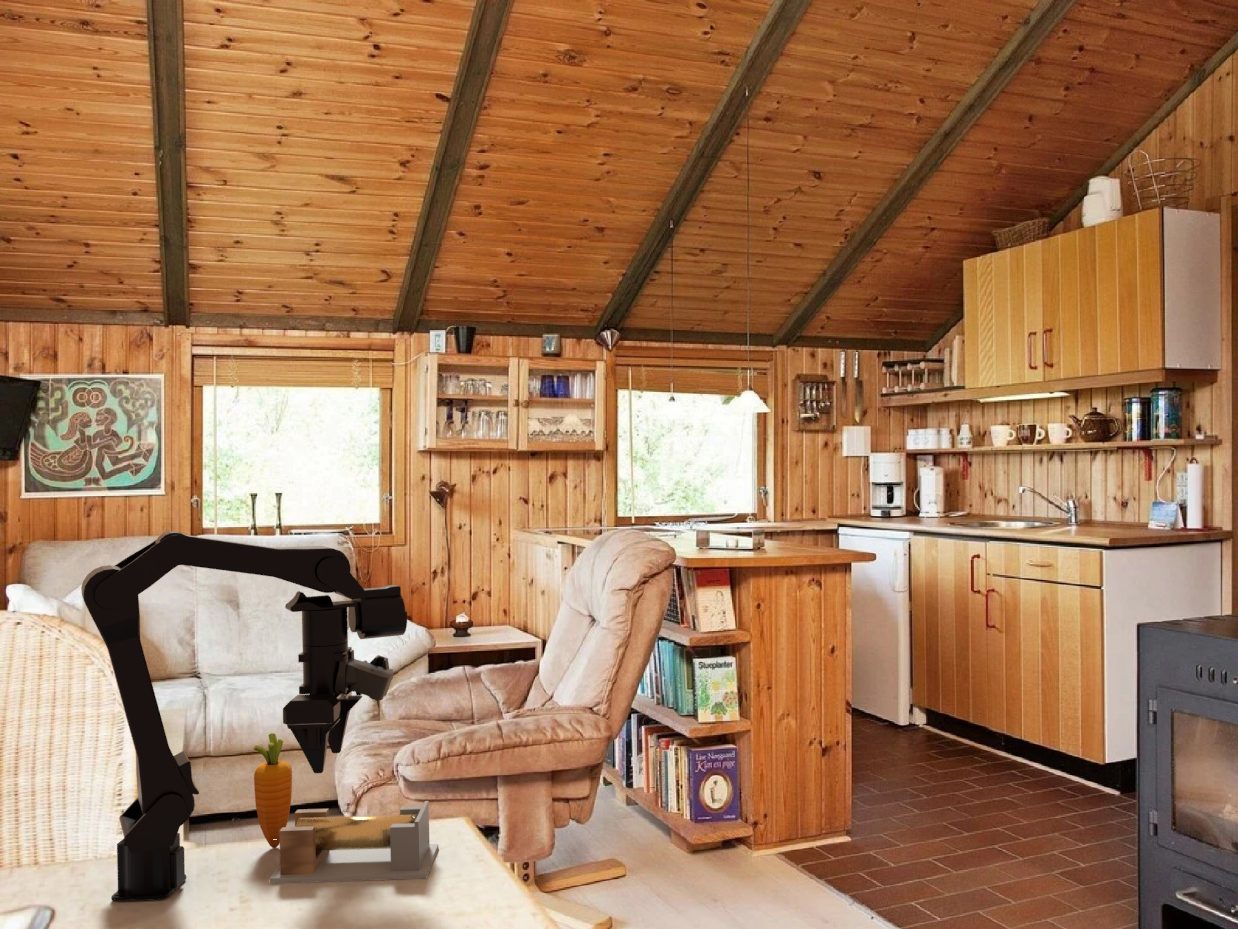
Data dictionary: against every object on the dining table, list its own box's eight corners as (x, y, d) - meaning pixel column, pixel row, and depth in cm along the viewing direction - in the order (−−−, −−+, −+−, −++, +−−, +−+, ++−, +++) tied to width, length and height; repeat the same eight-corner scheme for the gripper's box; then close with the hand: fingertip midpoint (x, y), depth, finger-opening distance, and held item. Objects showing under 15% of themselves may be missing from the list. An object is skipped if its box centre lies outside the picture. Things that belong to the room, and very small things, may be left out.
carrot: (282, 856, 136) (279, 741, 136) (247, 854, 137) (245, 739, 137) (301, 842, 141) (298, 731, 141) (267, 840, 142) (265, 730, 142)
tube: (295, 856, 130) (294, 824, 130) (303, 844, 134) (303, 813, 134) (415, 852, 130) (415, 820, 130) (421, 841, 134) (420, 810, 134)
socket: (391, 871, 128) (389, 822, 128) (402, 847, 136) (401, 801, 136) (419, 870, 128) (418, 821, 128) (429, 847, 136) (428, 801, 136)
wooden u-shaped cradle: (280, 875, 128) (279, 831, 128) (298, 851, 136) (297, 809, 136) (313, 874, 128) (312, 830, 128) (329, 850, 136) (328, 808, 136)
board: (269, 883, 127) (269, 878, 127) (293, 853, 137) (292, 848, 137) (426, 878, 127) (426, 873, 127) (438, 848, 137) (438, 844, 137)
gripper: (372, 654, 127) (375, 782, 127) (400, 630, 146) (402, 742, 146) (280, 656, 127) (283, 785, 127) (320, 632, 145) (322, 744, 145)
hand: (327, 762), depth 136 cm, fingers open, 9 cm apart
